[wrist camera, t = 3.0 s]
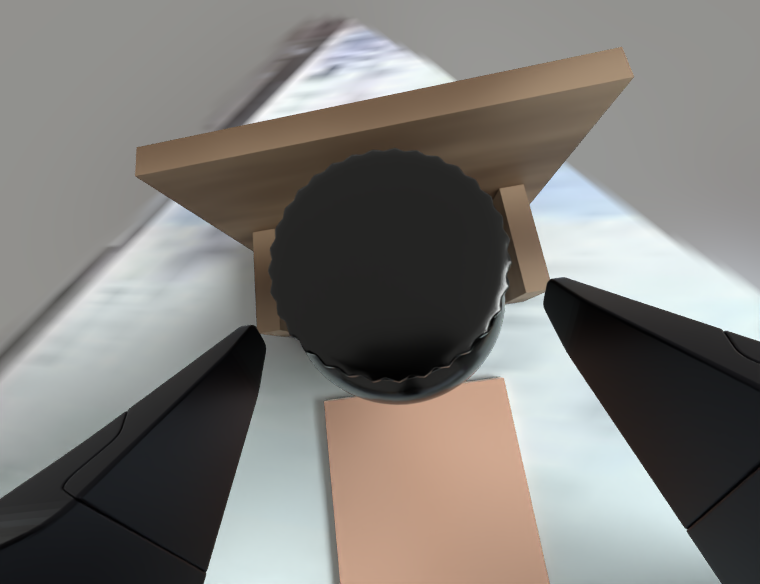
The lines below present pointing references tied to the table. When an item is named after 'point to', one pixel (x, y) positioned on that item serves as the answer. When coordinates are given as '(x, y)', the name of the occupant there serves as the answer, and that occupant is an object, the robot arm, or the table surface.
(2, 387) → the table surface
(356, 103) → the walnut shelf nook
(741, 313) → the table surface
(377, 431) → the terracotta tile
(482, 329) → the supplement bottle
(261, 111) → the table surface
